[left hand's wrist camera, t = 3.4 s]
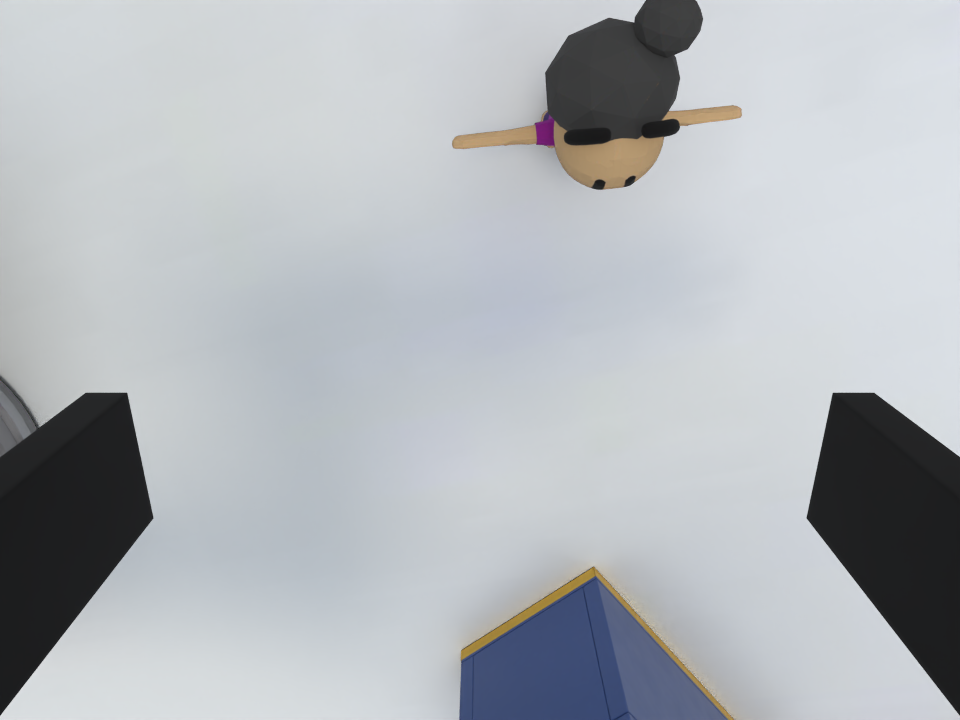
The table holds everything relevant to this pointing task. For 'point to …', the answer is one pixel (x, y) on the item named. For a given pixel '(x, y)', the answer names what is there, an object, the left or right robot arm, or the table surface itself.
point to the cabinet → (579, 664)
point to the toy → (614, 96)
